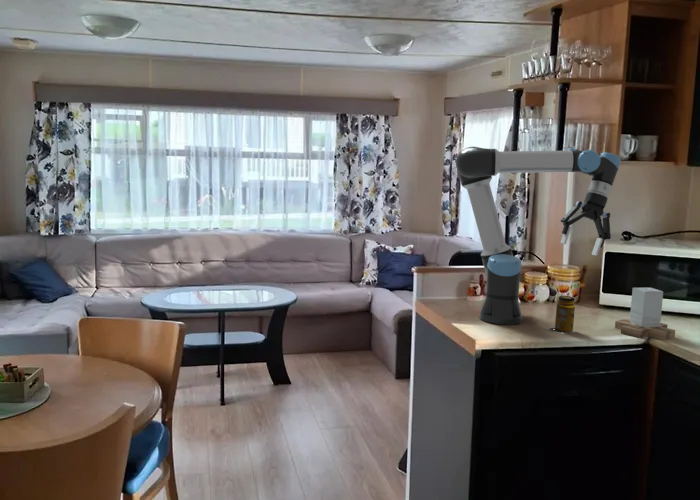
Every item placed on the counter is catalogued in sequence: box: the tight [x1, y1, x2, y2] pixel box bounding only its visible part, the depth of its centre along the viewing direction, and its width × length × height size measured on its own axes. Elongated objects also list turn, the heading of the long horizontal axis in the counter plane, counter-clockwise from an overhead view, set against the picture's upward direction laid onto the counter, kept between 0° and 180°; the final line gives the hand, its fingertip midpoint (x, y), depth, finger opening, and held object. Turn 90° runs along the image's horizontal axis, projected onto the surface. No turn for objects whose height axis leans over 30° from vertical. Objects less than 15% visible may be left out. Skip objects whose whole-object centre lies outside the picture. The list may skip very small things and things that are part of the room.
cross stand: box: [614, 318, 676, 341], centre depth 227 cm, size 18×18×3 cm
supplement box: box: [629, 287, 664, 327], centre depth 226 cm, size 7×7×13 cm
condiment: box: [546, 295, 579, 335], centre depth 224 cm, size 7×8×12 cm
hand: (578, 249), depth 238 cm, fingers open, 13 cm apart
